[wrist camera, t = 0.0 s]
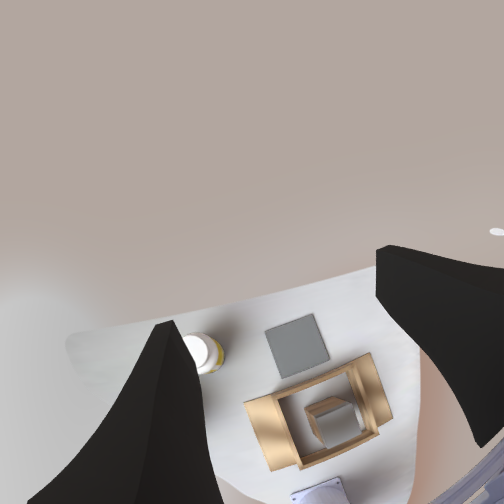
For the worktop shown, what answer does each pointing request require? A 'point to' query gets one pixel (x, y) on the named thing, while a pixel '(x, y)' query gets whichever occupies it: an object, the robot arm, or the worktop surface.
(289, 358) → the pad
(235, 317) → the worktop surface
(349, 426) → the block
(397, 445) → the worktop surface
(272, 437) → the wooden tray
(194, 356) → the supplement bottle
